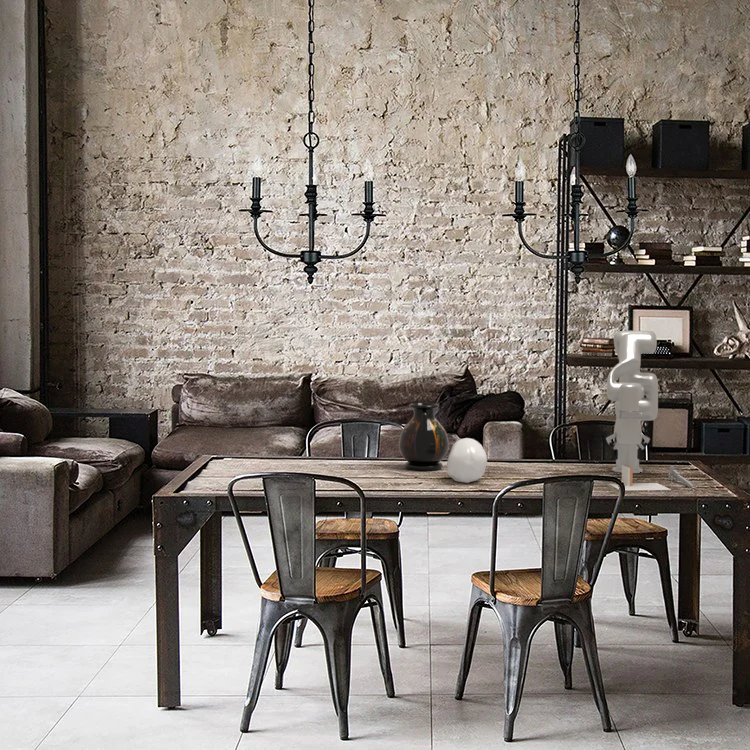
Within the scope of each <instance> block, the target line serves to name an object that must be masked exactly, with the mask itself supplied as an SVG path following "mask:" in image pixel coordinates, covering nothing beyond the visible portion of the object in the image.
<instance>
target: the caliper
mask: <svg viewBox="0 0 750 750" xmlns="http://www.w3.org/2000/svg"><path fill="white" fill-rule="evenodd" d="M675 480H677V481H679V482H682V483H683V484H684V485H685V486H687V487H688V488H689V487H691V488H690V489H692V488H696V487H695V485H694V484H693V483H692V482H690V481H689V480H687V479H686V478H685V477H683V476H682V475H681V473H679V472H678V471H677V470H675V466H673V465H670V467H669V471H668V481H671V482H674V481H675Z"/></svg>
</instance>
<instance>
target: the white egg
mask: <svg viewBox="0 0 750 750" xmlns="http://www.w3.org/2000/svg"><path fill="white" fill-rule="evenodd" d="M446 463H447V464H446V465H447V469H446V470H447V474H448V476H449V477H450V478H451V479H453V480H454V481H455V482H457V483H466V484H469V483H472V482H473V483H474V482H476V481H478V480H479V479H481V478H482V477H483V476H484V474H485V472H486V468H487V463H488V456H487V453H486V451H485V449H484V447H483V445H482V444H481V443H480V442H479V441H478V440H476V439H475V438H470V437H465V438H459V439H458V440H457V441H455V442H454V443H453V444H452V446H451V449H450V452H449V454H448V458H447V462H446Z"/></svg>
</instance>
